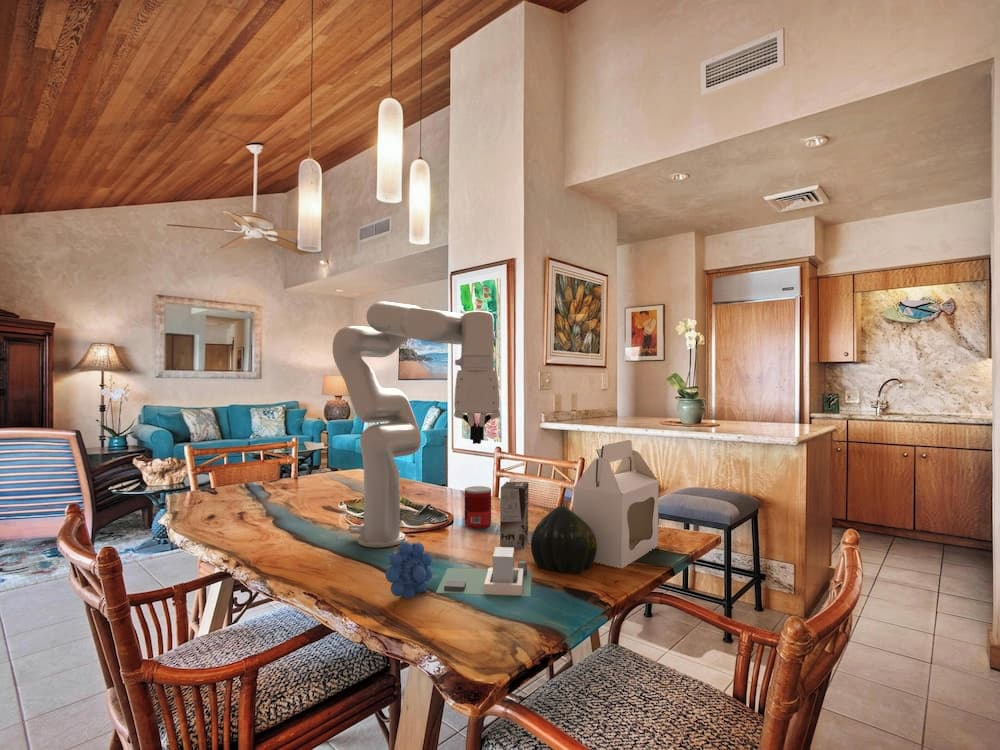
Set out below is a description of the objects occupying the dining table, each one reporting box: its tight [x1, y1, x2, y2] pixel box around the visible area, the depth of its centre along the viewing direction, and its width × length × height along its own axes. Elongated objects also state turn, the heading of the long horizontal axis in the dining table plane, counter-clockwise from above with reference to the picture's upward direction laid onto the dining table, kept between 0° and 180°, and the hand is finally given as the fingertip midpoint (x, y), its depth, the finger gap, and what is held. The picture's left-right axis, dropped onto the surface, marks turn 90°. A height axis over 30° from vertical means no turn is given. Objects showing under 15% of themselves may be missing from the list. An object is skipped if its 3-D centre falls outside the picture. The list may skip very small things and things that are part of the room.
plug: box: [492, 546, 515, 583], centre depth 112 cm, size 4×7×7 cm, turn 175°
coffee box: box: [499, 481, 530, 550], centre depth 143 cm, size 9×6×16 cm
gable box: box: [572, 439, 659, 569], centre depth 138 cm, size 22×13×28 cm, turn 142°
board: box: [435, 560, 533, 597], centre depth 114 cm, size 19×14×4 cm
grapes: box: [385, 541, 433, 599], centre depth 106 cm, size 12×7×12 cm, turn 141°
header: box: [484, 566, 523, 596], centre depth 112 cm, size 8×10×2 cm
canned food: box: [464, 485, 492, 530], centre depth 161 cm, size 8×8×11 cm
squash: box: [530, 504, 597, 575], centre depth 125 cm, size 14×15×15 cm
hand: (477, 443), depth 125 cm, fingers closed
